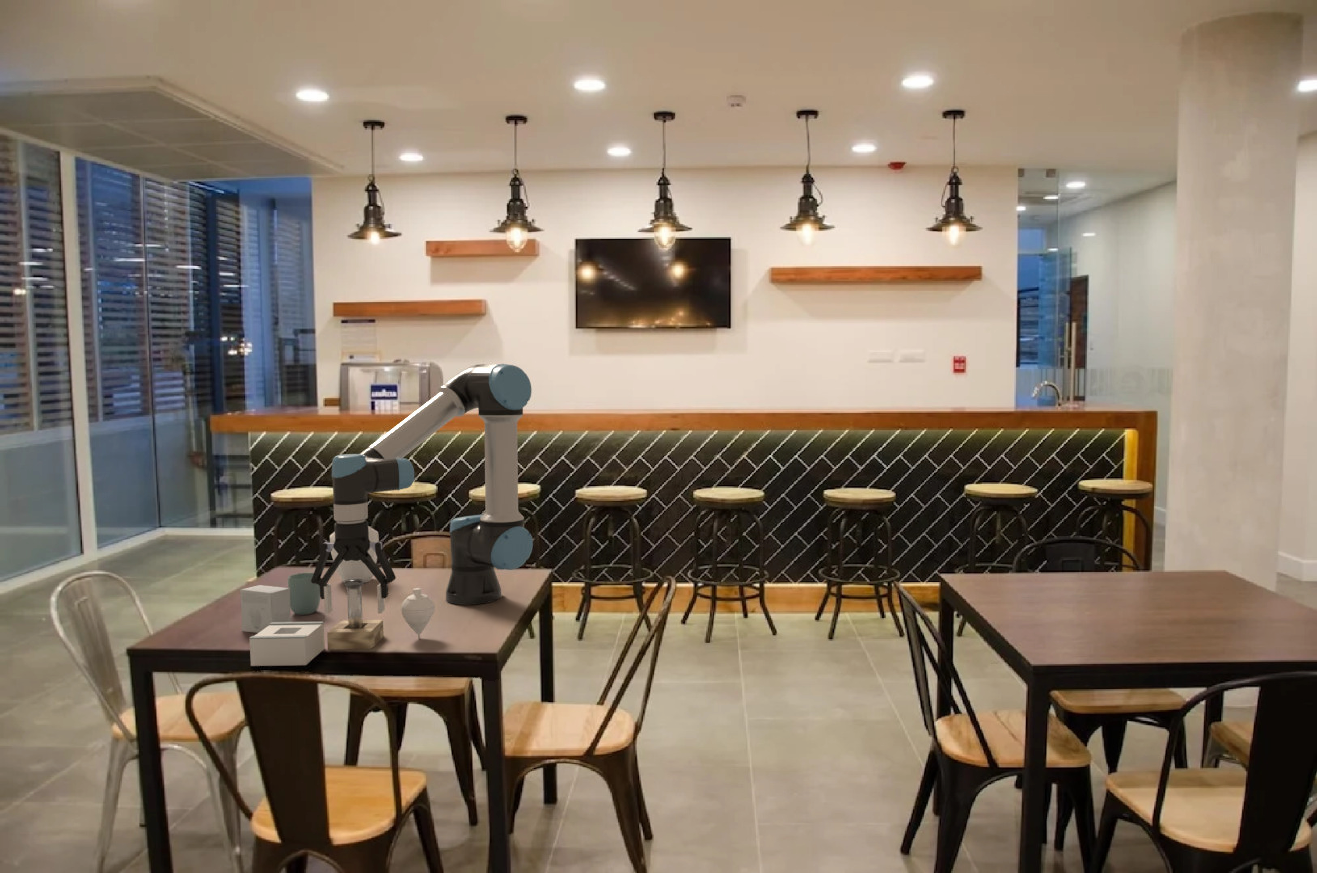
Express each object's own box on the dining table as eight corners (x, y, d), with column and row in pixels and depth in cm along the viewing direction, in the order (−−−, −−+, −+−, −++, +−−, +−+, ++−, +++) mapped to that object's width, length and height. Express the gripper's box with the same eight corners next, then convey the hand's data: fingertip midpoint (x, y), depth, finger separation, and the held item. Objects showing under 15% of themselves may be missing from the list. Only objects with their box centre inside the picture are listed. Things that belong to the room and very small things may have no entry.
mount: (383, 635, 227) (383, 619, 227) (371, 648, 217) (370, 631, 217) (342, 636, 227) (341, 620, 227) (327, 649, 217) (327, 632, 217)
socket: (324, 648, 218) (323, 621, 217) (305, 665, 206) (304, 636, 206) (273, 648, 218) (271, 622, 217) (250, 665, 206) (249, 637, 206)
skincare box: (292, 628, 235) (290, 587, 234) (272, 635, 229) (270, 593, 228) (261, 624, 239) (259, 583, 238) (240, 631, 233) (238, 589, 232)
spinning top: (409, 632, 229) (407, 584, 228) (439, 633, 228) (438, 584, 227) (397, 642, 222) (395, 592, 221) (428, 643, 221) (427, 592, 220)
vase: (390, 577, 288) (387, 496, 286) (358, 588, 275) (354, 503, 273) (354, 573, 294) (350, 494, 292) (320, 583, 281) (317, 501, 279)
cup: (310, 617, 244) (308, 579, 243) (283, 616, 246) (281, 578, 245) (326, 609, 252) (325, 572, 251) (300, 608, 253) (298, 572, 253)
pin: (367, 639, 224) (364, 577, 223) (362, 645, 220) (359, 581, 219) (350, 640, 224) (347, 578, 223) (345, 645, 220) (342, 582, 219)
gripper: (407, 517, 223) (410, 607, 225) (305, 518, 223) (309, 608, 225) (398, 522, 216) (401, 615, 218) (293, 524, 216) (297, 617, 218)
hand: (355, 612), depth 221 cm, fingers open, 12 cm apart
